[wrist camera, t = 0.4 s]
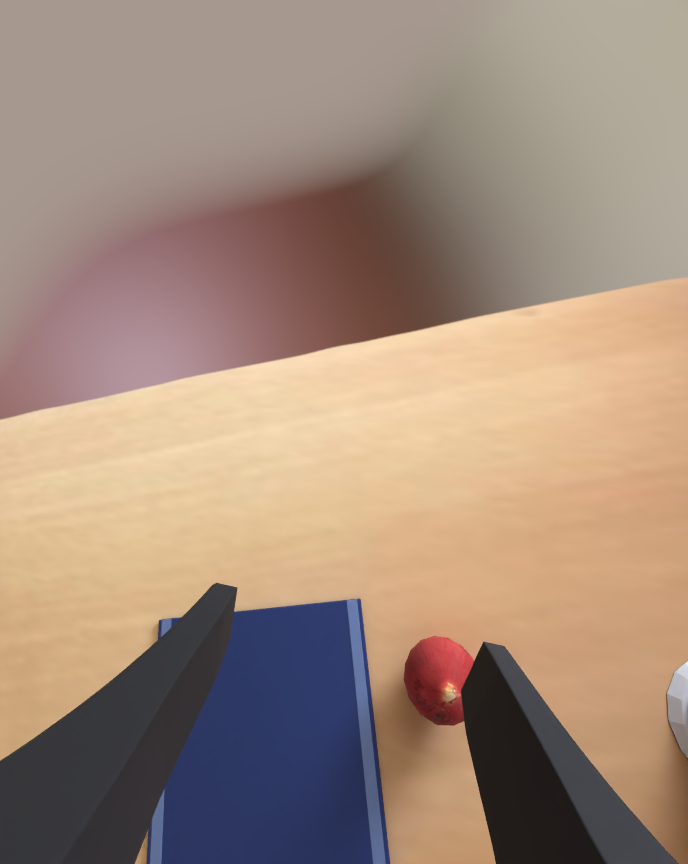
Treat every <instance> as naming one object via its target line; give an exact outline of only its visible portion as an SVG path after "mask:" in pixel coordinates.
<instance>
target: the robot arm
mask: <svg viewBox="0 0 688 864" xmlns="http://www.w3.org/2000/svg"><path fill="white" fill-rule="evenodd" d="M236 594H237V587H233V586H228V585H223V584H219V583H216V584H214V585H212V586H211V587H210V588H209V589H208V591H207V592H206V593H205V594H204V595H203V596H202V597H201V598H200V599H199V600H198V601H197V603H196V604H195V605H194V606H193V607H192V608H191V609H190V610H189V611H188V612H187V613H186V614H185V615H184V616H183V617H182V618H181V619H180V620H179V621H178V622H177V623H176V624H175V625H173V626H172V627H171V628H170V629H169V630H168V631H167V632H166V633H165V634H164V635H163V636H162V637H161V638H160V639H159V640H158V641H157V642H155V643H154V644H153V645H152V646H151V647H150V648H149V649H148V650H147V651H145V652H144V653H143V654H142V655H141V656H140V657H138V658H137V659H136V660H135V661H134V662H133V663H131V664H130V665H129V666H128V667H127V668H126V669H124V670H123V671H122V672H121V673H120V674H119V675H117V676H116V677H115V678H114V679H113V680H111V681H110V682H109V683H108V684H106V685H105V686H104V687H103V688H101V689H100V690H99V691H98V692H96V693H95V694H94V695H92V696H91V697H90V698H88V699H87V700H86V701H85V702H83V703H82V704H81V705H79V706H78V707H77V708H75V709H74V710H73V711H71V712H70V713H69V714H67V715H66V716H64V717H63V718H62V719H60V720H59V721H57V722H56V723H55V724H53V725H52V726H50V727H49V728H48V729H46V730H45V731H43V732H42V733H41V734H39V735H38V736H36V737H35V738H34V739H32V740H31V741H29V742H28V743H26V744H25V745H23V746H22V747H20V748H19V749H18V750H16V751H15V752H13V753H12V754H10V755H9V756H7V757H5V758H4V759H2V760H1V761H0V864H135V861H136V858H137V856H138V853H139V851H140V848H141V846H142V843H143V841H144V838H145V835H146V833H147V830H148V828H149V825H150V823H151V820H152V818H153V815H154V813H155V810H156V807H157V805H158V802H159V800H160V798H161V795H162V793H163V791H164V788H165V786H166V784H167V782H168V779H169V777H170V775H171V773H172V771H173V768H174V766H175V764H176V762H177V760H178V758H179V756H180V754H181V752H182V749H183V747H184V745H185V743H186V741H187V739H188V737H189V735H190V733H191V730H192V728H193V726H194V724H195V722H196V720H197V718H198V716H199V714H200V711H201V709H202V707H203V705H204V703H205V701H206V699H207V697H208V694H209V692H210V690H211V688H212V686H213V684H214V682H215V679H216V677H217V674H218V671H219V669H220V666H221V663H222V661H223V658H224V655H225V652H226V649H227V647H228V644H229V641H230V636H231V629H232V622H233V615H234V608H235V601H236ZM461 697H462V706H463V714H464V721H465V728H466V735H467V739H468V744H469V748H470V753H471V757H472V761H473V766H474V770H475V774H476V779H477V783H478V787H479V791H480V795H481V800H482V804H483V808H484V812H485V816H486V821H487V825H488V829H489V833H490V837H491V842H492V846H493V851H494V856H495V861H496V864H678V863H677V862H676V860H675V859H674V858H673V857H672V856H671V855H670V854H669V853H668V852H667V851H666V850H665V849H664V847H663V846H662V845H661V844H660V843H659V842H658V841H657V840H656V838H655V837H654V836H653V835H652V834H651V833H650V832H649V831H648V829H647V828H646V827H645V826H644V825H643V824H642V823H641V821H640V820H639V819H638V818H637V817H636V816H635V815H634V814H633V812H632V811H631V810H630V809H629V808H628V807H627V806H626V804H625V803H624V802H623V801H622V800H621V798H620V797H619V796H618V795H617V794H616V793H615V791H614V790H613V789H612V788H611V787H610V785H609V784H608V783H607V782H606V780H605V779H604V778H603V777H602V775H601V774H600V773H599V772H598V770H597V769H596V768H595V767H594V765H593V764H592V763H591V762H590V761H589V759H588V758H587V757H586V756H585V754H584V753H583V752H582V750H581V749H580V748H579V747H578V745H577V744H576V743H575V741H574V740H573V739H572V737H571V736H570V735H569V734H568V732H567V731H566V730H565V728H564V727H563V726H562V724H561V723H560V722H559V720H558V719H557V718H556V716H555V715H554V714H553V712H552V711H551V709H550V708H549V707H548V705H547V704H546V703H545V701H544V700H543V699H542V697H541V696H540V694H539V693H538V692H537V690H536V689H535V688H534V686H533V685H532V683H531V682H530V681H529V679H528V678H527V676H526V675H525V674H524V672H523V671H522V670H521V668H520V667H519V665H518V664H517V663H516V661H515V660H514V659H513V657H512V656H511V654H510V653H509V652H508V650H507V649H506V648H505V647H504V646H501V645H496V644H492V643H487V642H483V644H482V646H481V648H480V650H479V652H478V655H477V657H476V659H475V661H474V663H473V665H472V667H471V670H470V672H469V674H468V676H467V678H466V680H465V683H464V685H463V687H462V689H461Z"/></svg>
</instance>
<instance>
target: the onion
mask: <svg viewBox="0 0 688 864" xmlns="http://www.w3.org/2000/svg"><path fill="white" fill-rule="evenodd" d="M473 663H474V660H473V658H472V657H471V656H470V654H469V653H468V652H467V651H466V650H465V649H464V648H463V647H462V646H461V645H459V644H458V643H456V642H454V641H452V640H450V639H448V638H443V637H436V636H433V637H430V638H427V639H423V640H421V641H420V642H419V643H418V644H417V645H416V646H415V647H414V648H413V649H412V650H411V651H410V653H409V656H408V659H407V661H406V663H405V673H404V682H405V685H406V689H407V693H408V696H409V698H410V700H411V702H412V703H413V704H414V706H415V707H416V709H417V710H418V711H419V713H420V714H421V715H422V716H424V717H425V718H427V719H428V720H430V721H432V722H433V723H435V724H437V725H456V724H458V723H460V722H463V721H464V714H463V706H462V697H461V689H462V687H463V685H464V683H465V680H466V678H467V676H468V674H469V672H470V670H471V667H472V665H473Z"/></svg>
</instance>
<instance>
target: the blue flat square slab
mask: <svg viewBox="0 0 688 864" xmlns="http://www.w3.org/2000/svg"><path fill="white" fill-rule="evenodd" d="M181 618H182V617H181ZM181 618H172V619H162V620H159V633H158V640H159V639H160V638H161V637H162V636H163V635H164V634H165V633H166V632H167V631H168V630H169V629H170V628H171V627H172V626H173V625H175V624H176V623H177V622H178V621H179V620H180V619H181ZM147 864H390V859H389V850H388V841H387V832H386V823H385V814H384V805H383V796H382V787H381V778H380V769H379V760H378V752H377V743H376V734H375V725H374V716H373V707H372V698H371V689H370V680H369V671H368V662H367V653H366V644H365V635H364V626H363V617H362V608H361V599H353V600H343V601H334V602H324V603H315V604H305V605H296V606H286V607H276V608H267V609H257V610H248V611H238V612H234V615H233V622H232V629H231V636H230V641H229V644H228V647H227V649H226V652H225V655H224V658H223V661H222V663H221V666H220V669H219V671H218V674H217V677H216V679H215V682H214V684H213V686H212V688H211V690H210V692H209V694H208V697H207V699H206V701H205V703H204V705H203V707H202V709H201V711H200V714H199V716H198V718H197V720H196V722H195V724H194V726H193V728H192V730H191V733H190V735H189V737H188V739H187V741H186V743H185V745H184V747H183V749H182V752H181V754H180V756H179V758H178V760H177V762H176V764H175V766H174V768H173V771H172V773H171V775H170V777H169V779H168V782H167V784H166V786H165V788H164V791H163V793H162V795H161V798H160V800H159V802H158V805H157V807H156V810H155V813H154V815H153V818H152V820H151V823H150V825H149V828H148V848H147Z"/></svg>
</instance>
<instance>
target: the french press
mask: <svg viewBox="0 0 688 864" xmlns="http://www.w3.org/2000/svg"><path fill="white" fill-rule="evenodd" d="M667 703H668V719H669V723H670V725H671V728H672V730H673V732H674V735H675V737H676V739H677V742H678V744H679V747H680V749H681V750H682V752H683V753H684V754H685V755H686V757H687V758H688V661H687V662H686V663H684V664H683V665H682V666H681V667H680V668H679V669H677V670H676V671H675V673H674V676H673V679H672V681H671V684H670V687H669V689H668V692H667Z"/></svg>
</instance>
